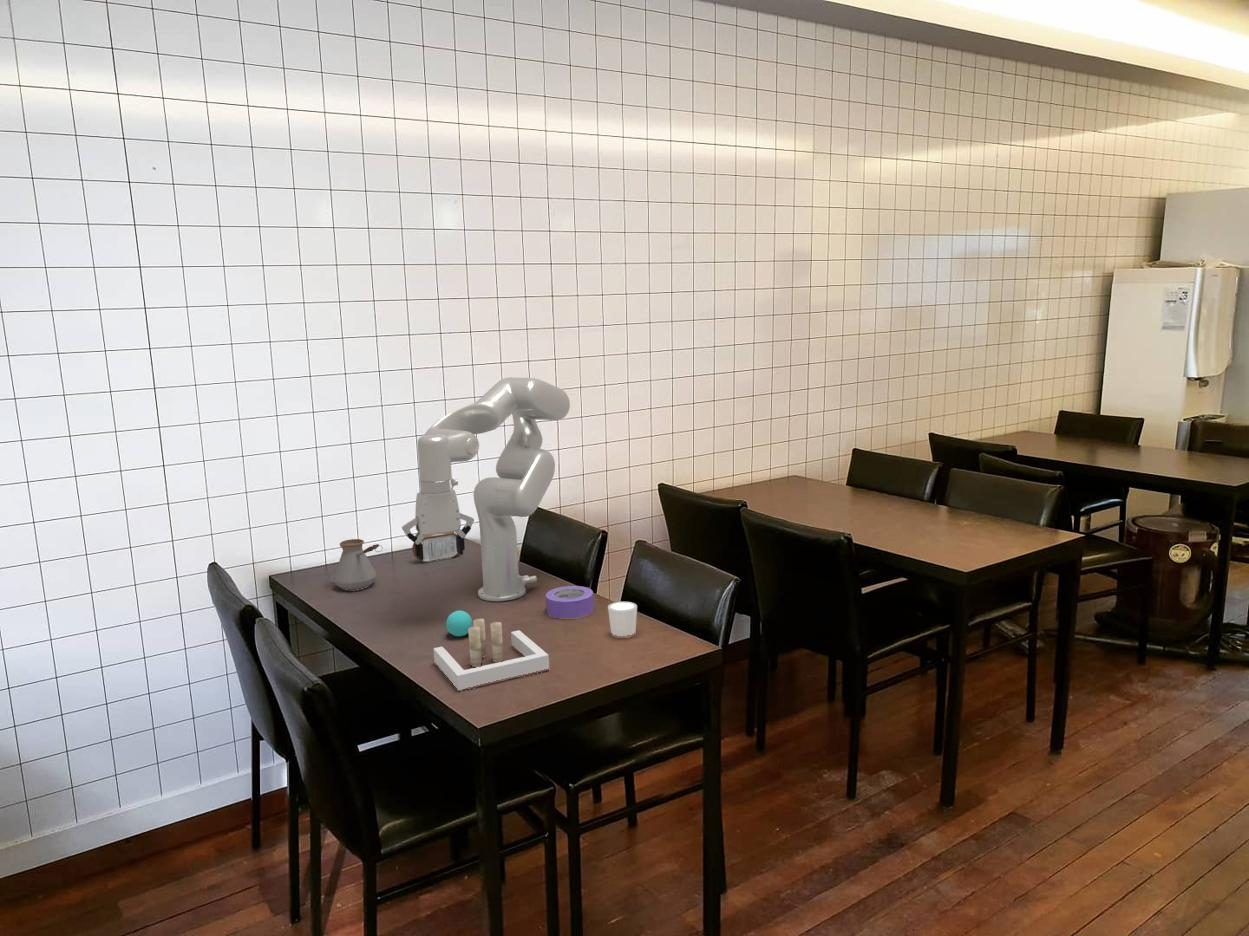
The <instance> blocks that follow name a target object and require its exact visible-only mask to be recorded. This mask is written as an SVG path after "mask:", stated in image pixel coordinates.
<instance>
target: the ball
mask: <svg viewBox="0 0 1249 936" xmlns="http://www.w3.org/2000/svg"><path fill="white" fill-rule="evenodd" d="M445 624H446V629H447V631H448V632H449V633H450V635H452V636H454V637H464V636H466V635H467V634H469V633H468V628H470V627H473V620H472V617H471V615H470V614H469V613H468V612H466V611H464V610H455V611H453V612H451V613H450V614H449V615H448V617H447V619H446V623H445Z"/></svg>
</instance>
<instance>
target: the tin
mask: <svg viewBox="0 0 1249 936" xmlns="http://www.w3.org/2000/svg"><path fill="white" fill-rule="evenodd" d="M456 537H457V533H456V532H450V533H443V534H435V535H425V537H424V538H423V540H422V541H421V543H422V544H423V556H424V560H420V559H419V558H418V557H416V555H415V543H414V542H413V544H412V554H413V556H414V557H415V558H416V559H417V560H418V561H420V562H421V563H425V562H428V561H434V560H440V559H445V558H450V557H454V558H456V557H457V556H458V555H460V554H459V553H458V552H457V548H456ZM455 556H456V557H455ZM440 561H441V560H440ZM434 562H435V561H434ZM428 563H429V562H428Z"/></svg>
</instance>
